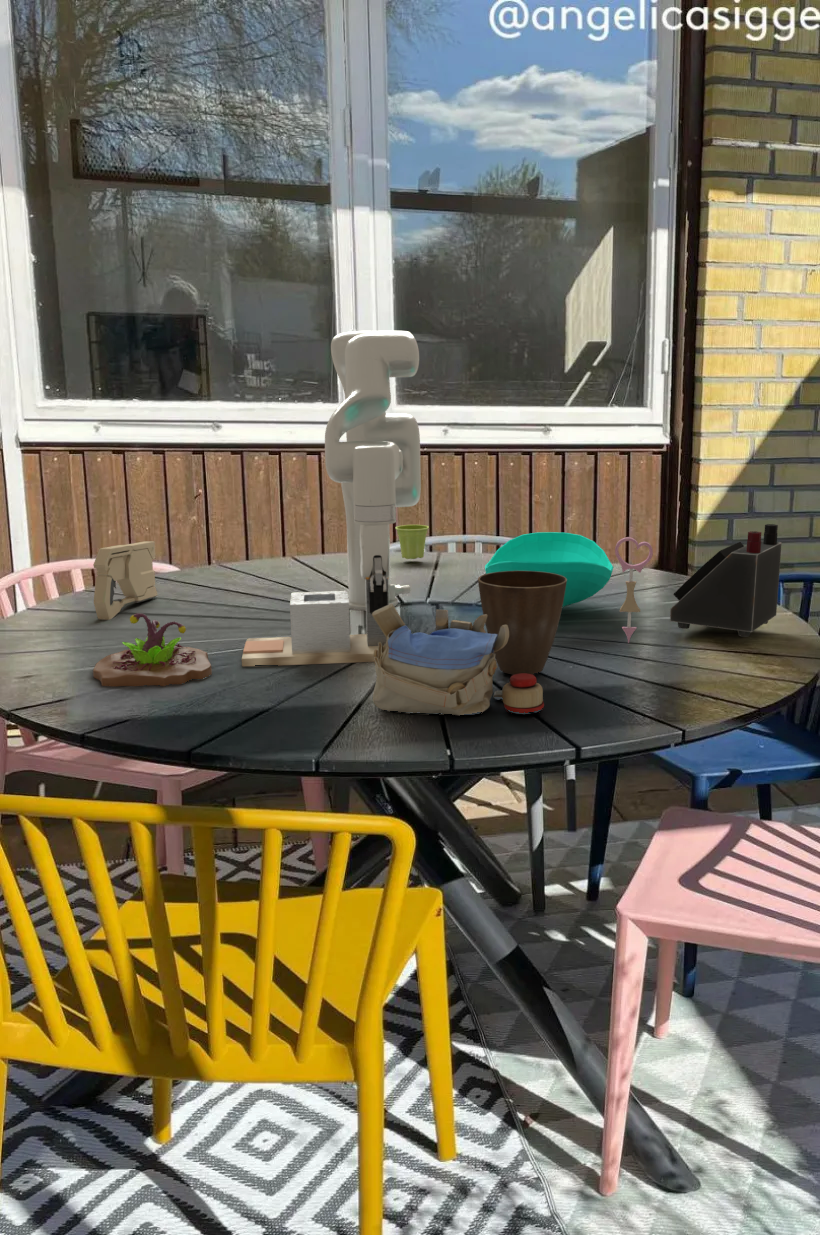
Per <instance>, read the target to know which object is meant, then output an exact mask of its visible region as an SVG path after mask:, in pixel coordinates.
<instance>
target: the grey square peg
mask: <svg viewBox="0 0 820 1235" xmlns="http://www.w3.org/2000/svg"><path fill="white" fill-rule="evenodd" d="M385 574H386V571H385ZM385 578H386V577H385ZM388 579H389V577H388V578H387V579H386V591H387V599H388V605H389V595H388ZM373 585H374V584H373ZM369 592H371V588H370V576H369V577H366V580H365V595H366V611H365V617H366V618H365V623H366V624H365V625H366V629H365V631H366V634H367V645H368V646H379V645H378V642H381V644H382V646H384V645H385V643H386V641H387V640H386V636H385V635H384V633H383V632H382V630H381V628H380V627H379V625H378V624H377V622H376V620H375V619H374V617H373V615H372V614H371V613H370V605H369Z"/></svg>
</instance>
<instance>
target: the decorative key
mask: <svg viewBox="0 0 820 1235" xmlns="http://www.w3.org/2000/svg"><path fill="white" fill-rule="evenodd" d="M629 541H630V542H633V543H634V544H635V546H636V551H638V550H639V549H640V548H641V547H643V546H646V547H647V548H648V550H649V552H648V555H647V558H646V559H645V560H643V561H642V562H639V563H636V564H630V563H628V562H626V561H625V560H624V559H623V558H622V556H621V554H620V552H619V547H620V546H621V545H622V544H623V543H625V542H629ZM653 553H654V550H653V546H652V545H651V544H650V543H649V542H648V541H642V542H638V541H637V540H636V539H635V538H633V537H631V536H627V537H623V538H621V539H619V540H618V541H617V542H616V545H615V547H614V554H615V557H616V559H617V560H618V563H619V564H620V566H621V570H622V572H621V573H625V572H626V571H627V570H629V574H628V575H629V578H628V579H629V580H625V585H626V595H625V596H626V597H625V600H624V602H623V603H622V605H621V606H620V608H619V612H620V613H622V612H624V613H625V612H626V613H627V624H626V625H627V626H621V628H622V630H623V632H624V633H625V635H626V639H627V644H630V640H631V637H632V635H633V634H634V632H635V631H636V630H637V626H631V624H632V613H640V612H641V609H640V607H639V606H638V604H637V601H636V598H635V588H636V585H637V580H636V581H634V579H633V578H634V575H633V574H634V570H636V571H637V572H638V573H641V572H642V570H643V568H644V567H645V566H646V565H647V564H649V562H650V561H651V559H652V558H653Z"/></svg>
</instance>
